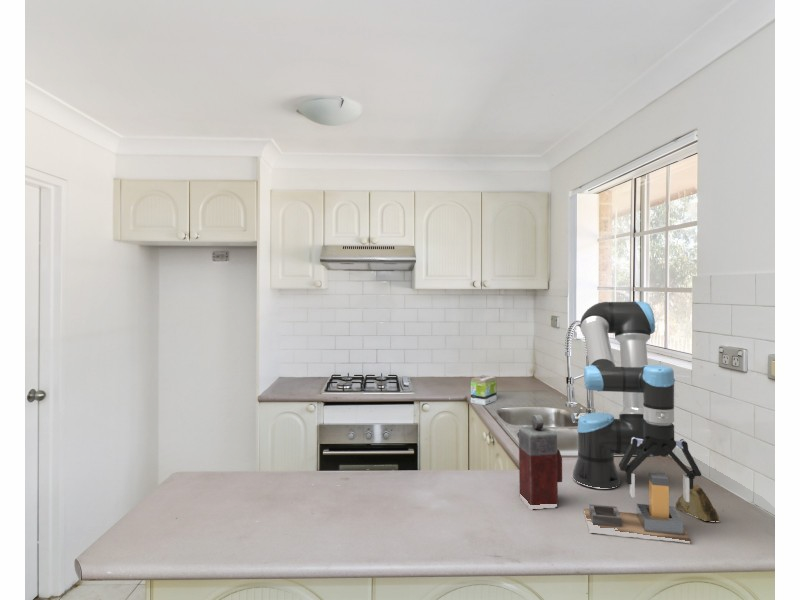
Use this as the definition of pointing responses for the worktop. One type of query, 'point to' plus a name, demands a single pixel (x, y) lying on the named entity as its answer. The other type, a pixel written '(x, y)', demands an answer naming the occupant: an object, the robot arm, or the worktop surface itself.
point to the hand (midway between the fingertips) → (658, 497)
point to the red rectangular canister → (539, 463)
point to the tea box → (483, 389)
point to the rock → (698, 505)
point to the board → (622, 521)
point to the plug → (658, 495)
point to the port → (659, 521)
